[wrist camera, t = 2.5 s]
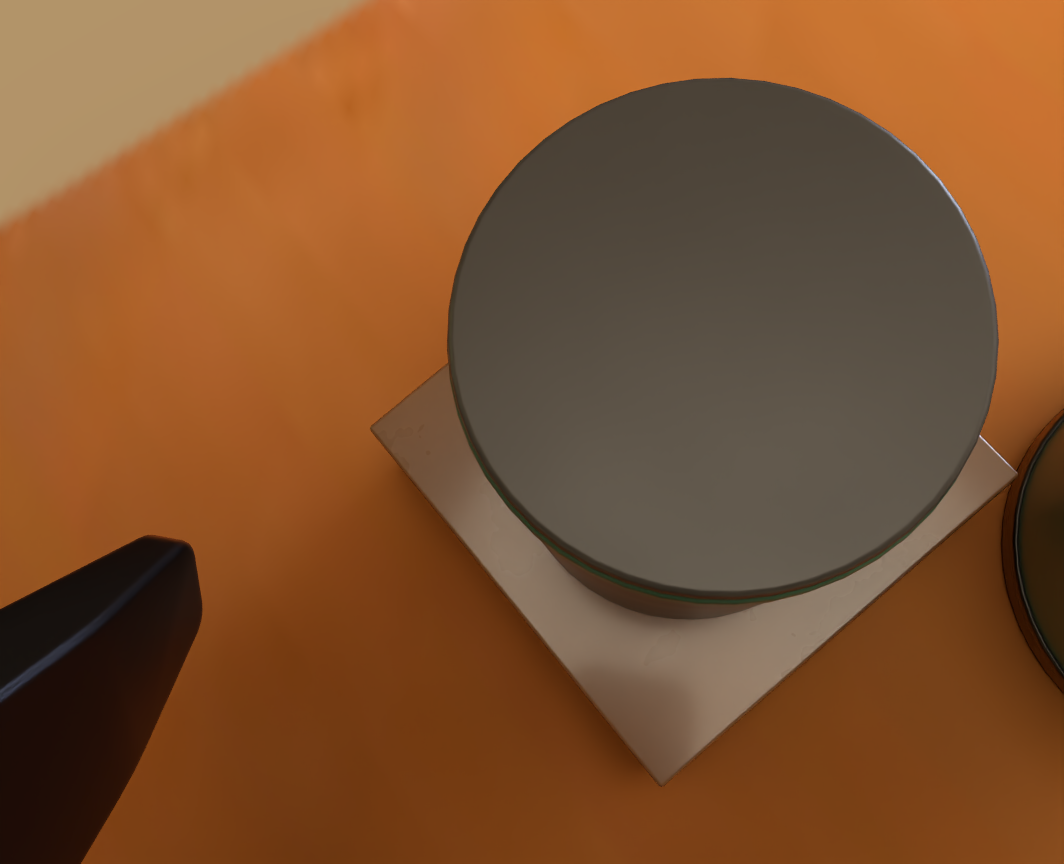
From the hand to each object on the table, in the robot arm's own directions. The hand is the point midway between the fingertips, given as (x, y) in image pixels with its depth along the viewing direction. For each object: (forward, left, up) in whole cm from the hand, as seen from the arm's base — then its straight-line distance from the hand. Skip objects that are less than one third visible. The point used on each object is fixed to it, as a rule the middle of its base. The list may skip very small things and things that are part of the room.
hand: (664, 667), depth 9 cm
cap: (+3, +2, -9) cm, 10 cm away
